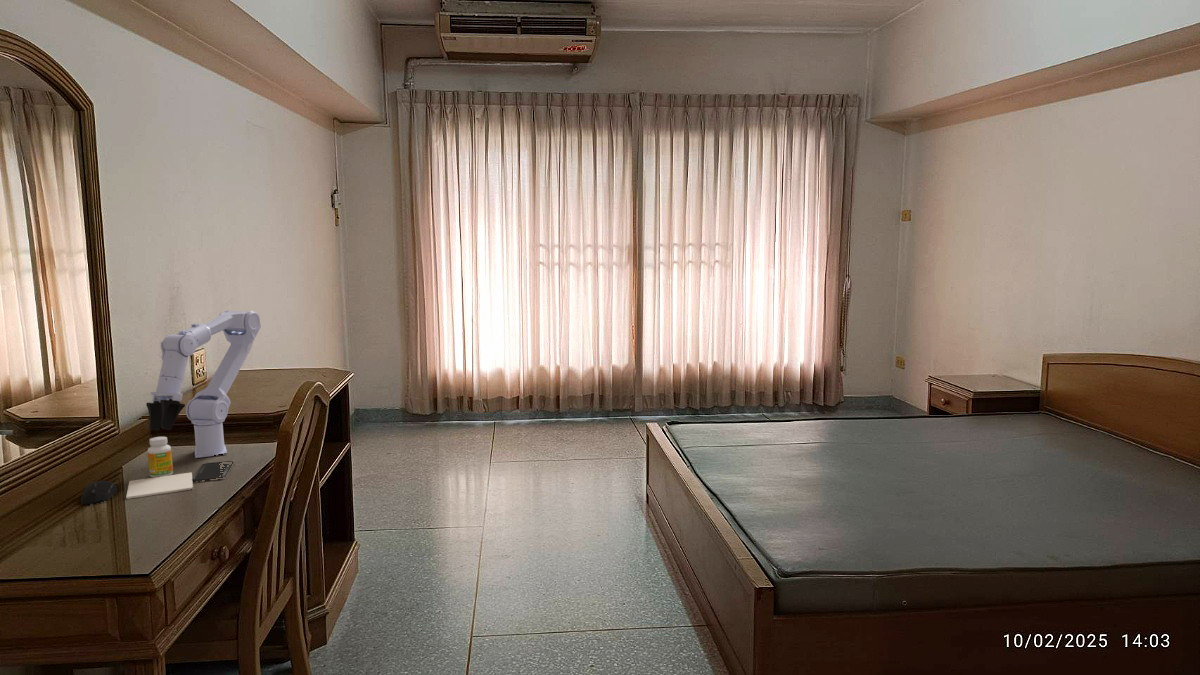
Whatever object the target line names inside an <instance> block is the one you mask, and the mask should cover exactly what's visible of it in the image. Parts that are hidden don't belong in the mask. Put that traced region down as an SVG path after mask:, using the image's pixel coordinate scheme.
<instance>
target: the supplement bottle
mask: <svg viewBox="0 0 1200 675" xmlns="http://www.w3.org/2000/svg"><path fill="white" fill-rule="evenodd" d="M149 445H150V447H148V448H147V459H148V471H149V474H148V475H149V477H150V478H155V477H162V476H169V475H174V474H173V473H174V465H173V455H172V447H171V445H170V444H168V437H167V436H154V437H151V438H149Z"/></svg>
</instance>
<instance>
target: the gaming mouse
mask: <svg viewBox="0 0 1200 675" xmlns="http://www.w3.org/2000/svg"><path fill="white" fill-rule="evenodd" d="M117 490H118V489H117V485H116V483H115V482H111V481H108V480H96V481H93V482H91V483H89V484H87V485H86V486H85V488H84V490H83V491H82V492H83V493H82V496H81V499H80V504H81V503H82V504H90V505H88V507H89V506H91V507H93V506H94V505H98V504H97V503H99V504H102V503H101V502H103V503H105V502H104V501H106V502H108V501H109V500H110V499H111V498H112V497H114V495H115V494H116V493H117ZM108 499H109V500H108ZM107 500H108V501H107ZM82 504H81V505H82ZM93 504H94V505H93ZM92 505H93V506H92Z"/></svg>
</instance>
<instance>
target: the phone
mask: <svg viewBox="0 0 1200 675" xmlns="http://www.w3.org/2000/svg"><path fill="white" fill-rule="evenodd" d="M222 462H223V461H216V462H215V461H214V462H213V461H212V462H206V463H205V462H204V463H202V464H201V465H200V466H199V468H198V469H197V471H196V472H195V474H194V476H192V481H194V482H193V483H197V482H196V481H202V480H206V481H209V479H216V478H223V477H226V476H227V474H228V472H229V470H230V468H231V466H232V464H233V463H234V461H233V460H227V461H224V462H232V464H231V465H229V464H223V465H224V466H225V467H222V468H223V469H220V465H221V464H220V463H222ZM219 464H220V465H219ZM227 465H229V467H227ZM224 468H225V469H224ZM220 470H223V471H220ZM230 471H231V470H230ZM220 472H224V473H220ZM229 473H230V472H229ZM220 475H221V477H219V476H220ZM228 475H229V474H228ZM227 477H228V476H227Z"/></svg>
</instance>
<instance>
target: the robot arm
mask: <svg viewBox="0 0 1200 675" xmlns="http://www.w3.org/2000/svg"><path fill="white" fill-rule="evenodd" d="M261 327H262V326H261V318H260V315H259V313H258V312H257V311H255V310H248V311H247V310H246V311H245V310H244V311H242V310H225V311H224V312H220V313H219V314H218V316H216V317H215V318H213V319H211V320H210V321H209V322H207V323H205V324H203V323H197V322H194V323H192V324H191V325H190V327H188V328H186V329H181V330H179V331H178V333H176V334H168V335H166V336H165V337H164V338H163V340H162V341H161V342H160V350H161V356H160V357H161V361H162V363H161V366H160V372H159V377H158V381H157V384H156V390H155V391H151V392H150V396H152V398H151V402H146V408H147V411H148V417H149V420H148V422H149V430H153V431H160V429H162V430H170V431H171V430H172V428H173V426H174V424H175V422H176V420H177V417H178V415H179V414H180V413H181V411H182V410H183V409H184V408H185V414H186V417H187V419H188V420H189V421H191V424H193V429H194V439H195V440H194V441H195V448H194V458H195V459H198V458H207V457H214V455H216V456H219V455H218V454H223V455H225V454H224V453H227V454H228V451H227V447H226V444H225V439H224V438H225V437H224V425H223V422H225V420H226V418H227V417H228V414H229V408H230V406H231V404H232V402H231V399H230V397H229V396H228V395H227V394H228V393H229V391H230V389H231V387H232V385H233V383H234V381H235V379H236V378H237V376H238V374H239V371H241V368H242V367H243V365H244V363H245V360H246V359H247V358H248V355H249V353H250V351H251V350H252V347H253V344H254V342H255V339H256V337H257V335H258V333H259V331H260V329H261ZM220 332H223V334H224V336H225V339H226V341H227V342H228V343H230V346H229V348H227V351H226V353H225V355H224V356H223V358H222V360H221V362H220V363H219V365H218V367H217V369H216V371H215V373H214V374H213V376H212V378H211V380H210V382H209V384H208V385H207V386H206V388H204V389H202V390H199V391H198V392H197V393H195V395H194V397H193V398H192V399H190V400H189V401H188V402H187V404H185V403H181V402H182V399H183V397H184V394H183V393H181V392H182V387H183V384H184V383H183V382H184V378H185V373H186V368H187V364H188V359H189V356H193V355H194V354H195V351H196V350H197V349H198V348H199V347H201V346H203V345H205V344H207V343H209V342H210V341H211V338H212V336H213V335H215V334H218V333H220Z"/></svg>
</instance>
